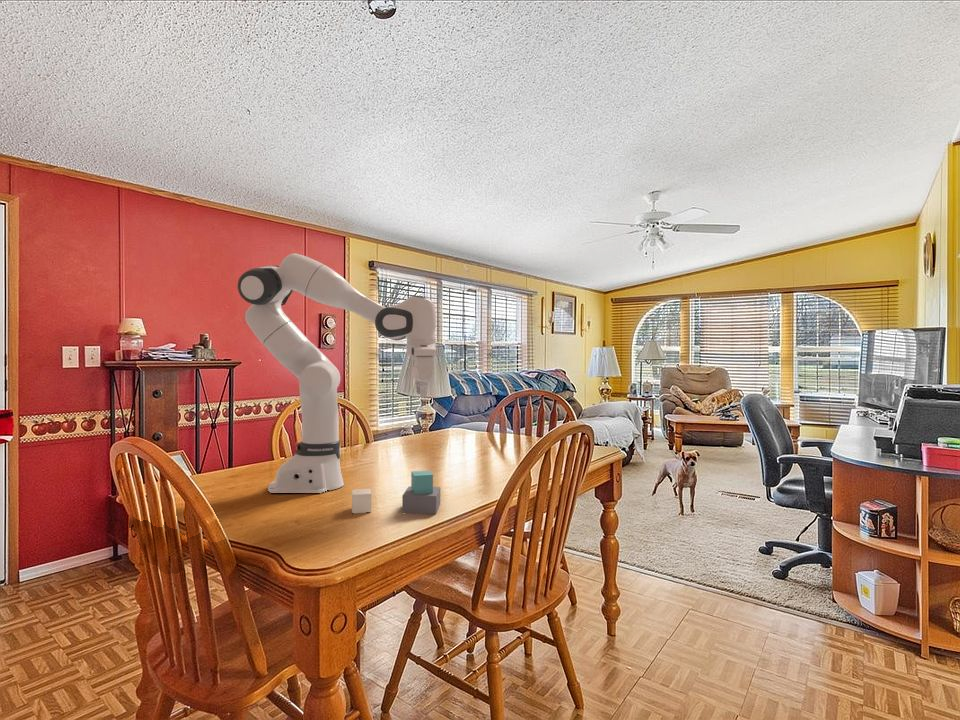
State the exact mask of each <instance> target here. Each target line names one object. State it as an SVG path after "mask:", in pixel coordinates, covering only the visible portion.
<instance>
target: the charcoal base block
mask: <svg viewBox="0 0 960 720" xmlns="http://www.w3.org/2000/svg"><path fill="white" fill-rule="evenodd" d="M401 496H402V500H401V501H402V509H401V512H402V513H405V514H406V515H407V514H409V515H412V514H413V515H437V514H438V512H439V508H440V506H441V487H440V486H433V493H428V494H415V495H414V493H413V492H412V490H411V486H408V487H407V488H406V490H405V491H404V493H403V494H402V495H401Z"/></svg>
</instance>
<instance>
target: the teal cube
mask: <svg viewBox="0 0 960 720" xmlns="http://www.w3.org/2000/svg"><path fill="white" fill-rule="evenodd" d="M410 475H411V479H410V480H411V481H410V483H411V486H410V487H411V490H412V492H413V493H414V495H415V494H428V493H433V487H434V474H433V473H432V471H430V470H417V471H414V470H413V471H411V474H410Z"/></svg>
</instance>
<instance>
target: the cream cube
mask: <svg viewBox="0 0 960 720" xmlns="http://www.w3.org/2000/svg"><path fill="white" fill-rule="evenodd" d="M366 512H370V513H372V488H363V489H362V488H359V489H351V514H352V513H354V514H365V513H366ZM366 514H367V513H366Z"/></svg>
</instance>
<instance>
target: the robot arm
mask: <svg viewBox="0 0 960 720" xmlns="http://www.w3.org/2000/svg"><path fill="white" fill-rule="evenodd" d="M280 262H281V263H280V264H279V265H263V266H259V267H255V268H251V269H249V270H246V271H245V272H243V273H242V274H241V275H240V277H239V278H238V281H237V291H238V294H239V296H240V297H241V298H242V299H243V300H244V301H245V302H247V303H249V304H251V305H250V306H249V307H248V309H247V310H246V312H245V314H244V319H245V322H246V323H247V326H248V327H249V328H250V331H252V333H253V334H254V336H255V337H256V338H257V339H258V341H259V342H260V343H261V344H262V345H263V346H264V347H265V349H266V350H268V351H269V352H270V354H271V355H272V356H273V357H274V358H275V359H276V360H277V361H278V362H279V364H281V365H282V366H283V367H285V368H286V369H287V370H288V371H290V373H292V374H293V375H294V376H295V377H296V378H297V380H298V385H299V386H298V389H299V391H298V392H299V402H300V409H301V411H300V412H301V435H302V436H301V438H302V439H301V441H300V440H297V441H296V442H294V443H295V444H294V447H295V448H294V451H295V452H294V453H295V454H294V455H293V456H291V457H290V458H289V459H287V461H285V462H284V463H283V464H282V465H279V468H278V469H277V472H276V476H275V480H273V481H272V482H270V483H269V485H268V486H267V492H268V491H269V492H270V493H269V492H268V493H269V494H271V493H320V494H322V493H321V492H324V493H326V492H328V491H327V490H329V491H332V490H336V489H340V488H342V487H344V485H345V483H344V479H343V475H342V470H341V464H340V463H341V462H340V461H341V460H340V458H341V454H342V453H341V452H342V451H341V450H342V449H341V448H342V447H341V446H342V445H341V440H340V439H339V438H340V432H339V431H340V428H339V427H340V424H339V423H340V420H339V419H340V416H339V415H340V413H339V406H338V405H339V404H338V388H339V386H340V383H341V374H340V371H339V369H338V367H336V365H335V364H333V362H331V360H330V359H329V358H328V357H327V356H326V355H325V354H324V353H323V352H322V351H321V350H320V349H318V347H317V346H316V345H315V344H313V342H311V340H309V339H308V338H307V336H306V335H305V334H304V333H303V332H302V330H300V328H299V327H298V326H297V325H296V324H295V323H294V322H293V321H292V320H291V319H290V318H289V316H287V315H286V313H285V312H284V310H283V308H282V306H284V305H286V303H287V301H288V299H290V297H291V295H292V294H293V291H295V292H296V293H299V294H301V295H303V297H306V298H308V299H310V300H312V301H314V302H316V303H319V304H322V305H325V306H328V307H331V308H337V309H341V310H346V311H349V312H351V313H354V314H356V315H357V316H359V317H362V318H363V319H365V320H367V321H369V322H371V323H373V324H374V325H375V329H376V331H377V333H379V335H381V336H382V337H384V338H387V339H390V340H393V341H401V340H404V339H406V356H410V361H411V378H412V379H414V381H415V393H416V394H417V395H420V397H421V398H426V397H427V396H428V395H427V393H428V392H427V391H428V384H429V383H430V382H432V381H433V375H434V365H435V364H434V363H435V357H436V356H437V337H436V329H437V313H436V306H435V303H434V301H432V300H431V299H430V298H428V297H425V296H420V295H410V296H409V297H408V298H406V299H404V300H403V301H401V302H399V303H396V304H394V305H390V306H387V307H386V306H383V305H382V304H380V303H379V302H376V301H375V300H373V299H371V298H369V297H368V296H366V295H364V294H363V293H361V292H360V291H358V290H357V289H356V288H355V287H354V286H353V285H351V284H350V283H349V281H348V280H346V279H345V278H344V277H343V276H342V275H341V274H339V273H338V272H336V271H335V270H334V269H332V268H331V267H329V266H327V265H325V264H324V263H322V262H320V261H318V260H315V259H313V258H311V257H309V256H307V255H302V254H299V253H295V252H294V253H291V254H290V253H289V254H288V255H287V256H285V257H284V258H283V260H282V261H280ZM325 491H326V492H325Z"/></svg>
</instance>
